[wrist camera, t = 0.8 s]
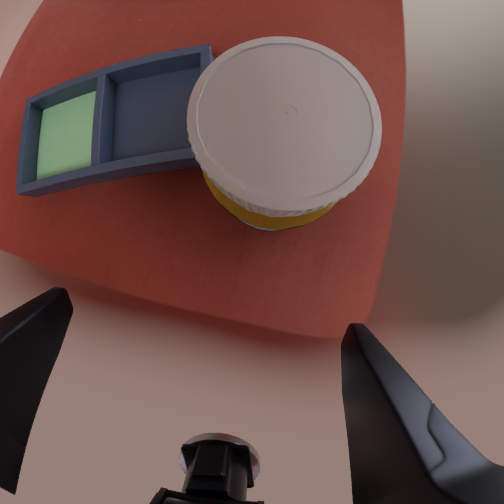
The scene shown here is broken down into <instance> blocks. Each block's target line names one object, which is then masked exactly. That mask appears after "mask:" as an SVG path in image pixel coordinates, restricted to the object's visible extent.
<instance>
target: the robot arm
mask: <svg viewBox="0 0 504 504" xmlns="http://www.w3.org/2000/svg"><path fill="white" fill-rule="evenodd" d="M72 314H73V306H72V303H71V300H70V298H69V295H68V292H67V290H66V289H65V288H61V287H54V288H52V289H50V290H48V291H47V292H45V293H43V294H41V295H40V296H37V297H36V298H34V299H32V300H30V301H29V302H27V303H25V304H23V305H22V306H20V307H19V308H17V309H15V310H13V311H11V312H10V313H8V314H6V315H5V316H3V317H1V318H0V487H1V488H3V489H4V490H6V491H8V492H10V493H12V494H14V495H15V493H16V489H17V484H18V479H19V474H20V470H21V465H22V461H23V457H24V453H25V449H26V445H27V442H28V438H29V435H30V431H31V428H32V424H33V422H34V418H35V415H36V412H37V409H38V406H39V404H40V401H41V398H42V395H43V392H44V390H45V387H46V384H47V381H48V379H49V376H50V374H51V371H52V369H53V366H54V364H55V361H56V359H57V357H58V354H59V352H60V349H61V346H62V343H63V340H64V337H65V334H66V331H67V328H68V325H69V322H70V319H71V317H72ZM341 365H342V395H343V403H344V411H345V419H346V428H347V437H348V446H349V457H350V468H351V481H352V495H353V504H504V466H500V465H497V464H495V463H493V462H491V461H490V460H488V459H487V458H486V457H485V456H483V455H482V454H481V453H480V452H479V451H478V450H477V449H476V448H475V447H474V446H473V445H472V444H471V443H470V442H469V441H468V440H467V439H466V438H465V437H464V436H463V435H462V434H461V433H460V432H459V431H458V430H457V429H456V428H455V427H454V426H453V425H452V424H451V423H450V422H449V421H448V419H447V418H446V417H445V416H444V415H443V414H442V413H441V411H440V410H439V409H438V408H437V407H436V406H435V404H434V403H432V401H431V400H430V399H429V398H428V396H427V395H426V394H425V393H424V392H423V391H422V389H421V388H420V387H419V386H418V385H417V384H416V382H415V381H414V380H413V379H412V378H411V377H410V376H409V374H408V373H407V372H406V371H405V370H404V369H403V368H402V366H401V365H400V364H399V363H398V362H397V361H396V360H395V358H394V357H393V356H392V355H391V354H390V353H389V352H388V351H387V350H386V348H385V347H384V346H383V345H382V344H381V343H380V342H379V341H378V339H377V338H376V337H375V336H374V335H373V334H372V333H371V332H370V331H369V330H368V328H366V326H365V325H364V324H361V323H351V324H349V326H348V328H347V330H346V333H345V335H344V338H343V340H342V343H341ZM186 448H187V449H186ZM243 449H245V450H243ZM181 451H182V454H183V458H184V461H185V464H186V468H187V474H186V478H185V481H184V485H183V488H182V491H181V492H176V491H172V490H168V489H166V488H162V487H161V489H160V490H159V492H158V493H156V495H155V496H154V498H153V499H152V501H151V502H150V504H264V501H257V502H251V501H246V492H247V488H252V487H253V486H254V480H253V472H252V464H251V455H250V448H249V446H247V445H199V444H183V445H182V447H181Z"/></svg>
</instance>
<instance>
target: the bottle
mask: <svg viewBox="0 0 504 504" xmlns="http://www.w3.org/2000/svg"><path fill="white" fill-rule="evenodd" d="M187 132H188V134H189V138H188V139H189V142H190V143H191V145H192V146H191V149H192V152H193V153H194V154H195V155H196V156H195V159H196V161H197V162H198V163H199V164H200V167H201V169H202V170H203V175H204V178H205V181H206V183H207V185H208V186H209V188H210V190H211V192H212V193H213V195H214V197H215V198H216V199H217V201H218V202H219V203H220V204H221V205H222V206H223V207H224V208H225V209H226V210H228V211H229V212H230V213H231V214H232V215H233V216H235V217H236V218H238V219H239V220H241V221H243V222H244V223H246V224H248V225H250V226H252V227H254V228H257V229H262V230H283V229H289V228H294V227H299V226H303V225H306V224H308V223H310V222H312V221H314V220H315V219H317V218H319V217H321V216H322V215H324V214H326V213H327V212H328V211H329V210H330V209H331V208H332V207H333V206H334V205H335V204H336V203H337V202H338V200H340V199H343V198H345V197H346V196H347V195H348V193H351V192H353V191H354V190H355V187H356V186H358V185H360V184H361V183H362V182H363V179H364V178H365V177H367V176H368V174H369V171H370V169H371V168H372V167H373V164H374V162H375V160H376V158H377V155H378V152H379V148H380V144H381V137H382V122H381V114H380V110H379V106H378V103H377V100H376V98H375V95H374V93H373V91H372V89H371V88H370V86H369V84H368V83H367V81H366V80H365V78H364V77H363V76H362V75H361V73H360V72H359V71H358V70H357V69H356V68H355V67H354V66H353V65H352V64H351V63H350V62H349V61H347V60H346V59H345V58H344V57H342V56H341V55H339V54H338V53H336V52H334V51H333V50H331V49H329V48H327V47H325V46H323V45H320V44H318V43H315V42H312V41H309V40H305V39H300V38H294V37H282V36H277V37H265V38H259V39H254V40H250V41H247V42H244V43H242V44H239V45H237V46H235V47H233V48H231V49H229V50H227V51H226V52H224V53H223V54H221V55H220V56H219V57H217V58H216V59H215V60H214V61H213V62H212V63H211V64H210V65H209V66H208V67H207V68H206V69H205V70H204V72H203V73H202V74H201V76H200V77H199V79H198V80H197V82H196V84H195V86H194V88H193V91H192V93H191V96H190V100H189V104H188V110H187Z"/></svg>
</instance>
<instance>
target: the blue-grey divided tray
mask: <svg viewBox="0 0 504 504" xmlns="http://www.w3.org/2000/svg"><path fill="white" fill-rule="evenodd" d="M213 61H214V58H213V54H212V50H211V47H210V44H207V45H200V46H193V47H187V48H182V49H176V50H171V51H166V52H161V53H157V54H152V55H148V56H144V57H140V58H136V59H132V60H129V61H125V62H121V63H118V64H115V65H111V66H108V67H105V68H102V69H99V70H96V71H93V72H90V73H87V74H84V75H82V76H79V77H76V78H74V79H71V80H69V81H66V82H64V83H61V84H59V85H56V86H54V87H52V88H49V89H47V90H45V91H43V92H41V93H38V94H36V95H34V96H32V97H30V98H28V99H26V105H25V110H24V116H23V122H22V129H21V137H20V145H19V155H18V168H17V193H16V194H17V195H25V196H32V197H37V196H40V195H44V194H48V193H53V192H57V191H61V190H65V189H70V188H74V187H79V186H84V185H88V184H93V183H98V182H103V181H109V180H114V179H119V178H125V177H131V176H137V175H143V174H149V173H156V172H163V171H170V170H177V169H185V168H193V167H200V164H199V163H198V162H197V161H196V159H195V156H196V155H195V154H194V153H193V152H192V149H191V146H192V145H191V143H190V142H189V139H188V138H189V134H188V132H187V110H188V104H189V100H190V96H191V93H192V91H193V88H194V86H195V84H196V82H197V80H198V79H199V77H200V76H201V74H202V73H203V72H204V70H205V69H206V68H207V67H208V66H209V65H210V64H211V63H212V62H213Z"/></svg>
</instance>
